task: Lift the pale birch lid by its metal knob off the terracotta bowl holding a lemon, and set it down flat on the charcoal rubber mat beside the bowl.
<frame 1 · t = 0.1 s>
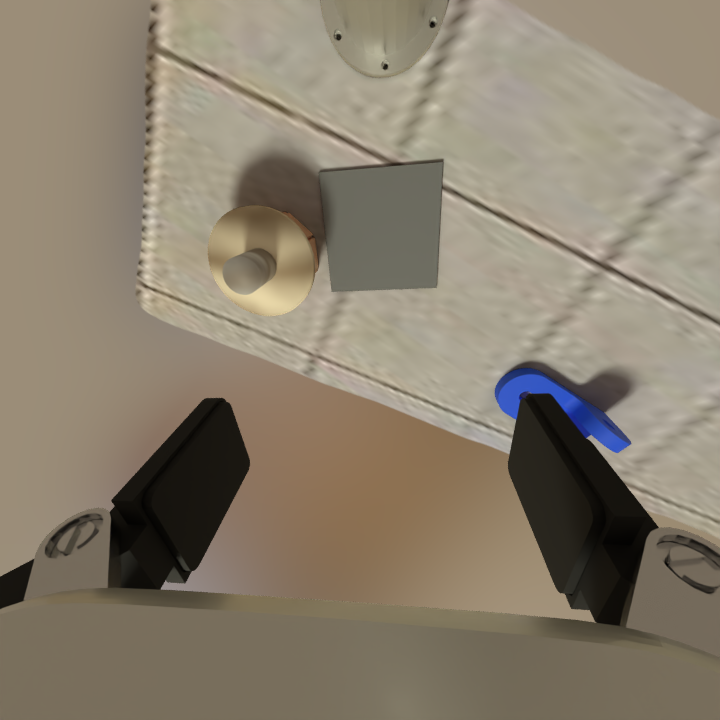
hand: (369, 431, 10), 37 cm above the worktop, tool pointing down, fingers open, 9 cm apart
mat: (381, 233, 41), on the worktop
bracket: (542, 402, 52), on the worktop
lid: (264, 263, 39), point 6 cm above the worktop, touching bowl
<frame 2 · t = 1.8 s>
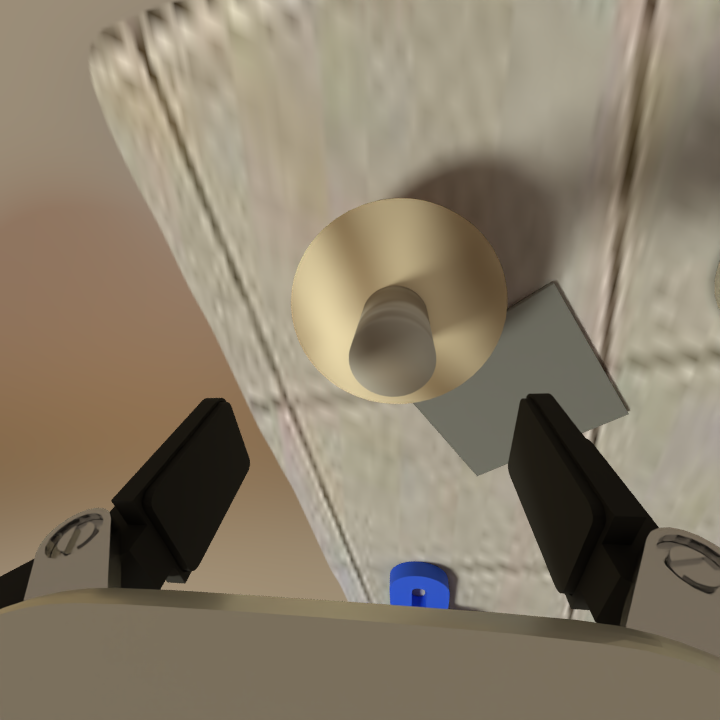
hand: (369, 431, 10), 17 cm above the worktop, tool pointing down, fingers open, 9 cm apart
mat: (507, 394, 29), on the worktop
bracket: (418, 592, 48), on the worktop
lid: (394, 311, 20), point 6 cm above the worktop, touching bowl
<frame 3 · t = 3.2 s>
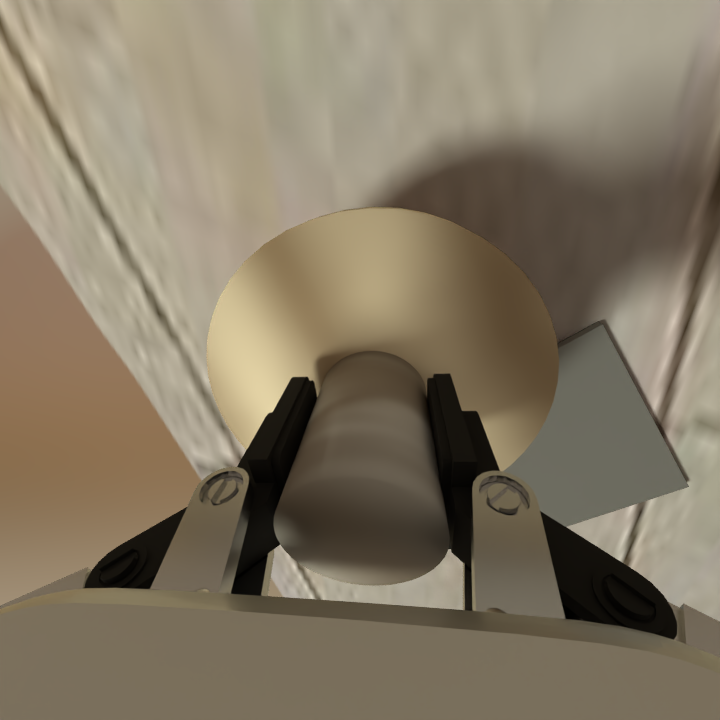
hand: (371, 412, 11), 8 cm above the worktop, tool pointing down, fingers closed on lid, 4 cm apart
mat: (529, 460, 22), on the worktop
lid: (375, 380, 13), point 6 cm above the worktop, touching bowl, gripper
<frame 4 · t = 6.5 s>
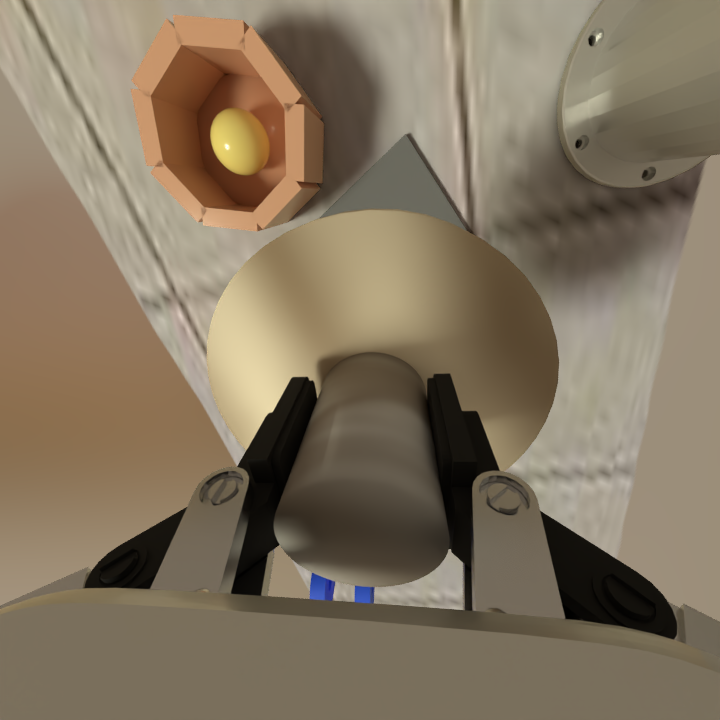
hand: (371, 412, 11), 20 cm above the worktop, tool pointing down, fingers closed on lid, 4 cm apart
bowl: (257, 148, 25), on the worktop
mat: (387, 274, 29), on the worktop
bracket: (345, 523, 48), on the worktop
lid: (375, 381, 13), point 18 cm above the worktop, touching gripper
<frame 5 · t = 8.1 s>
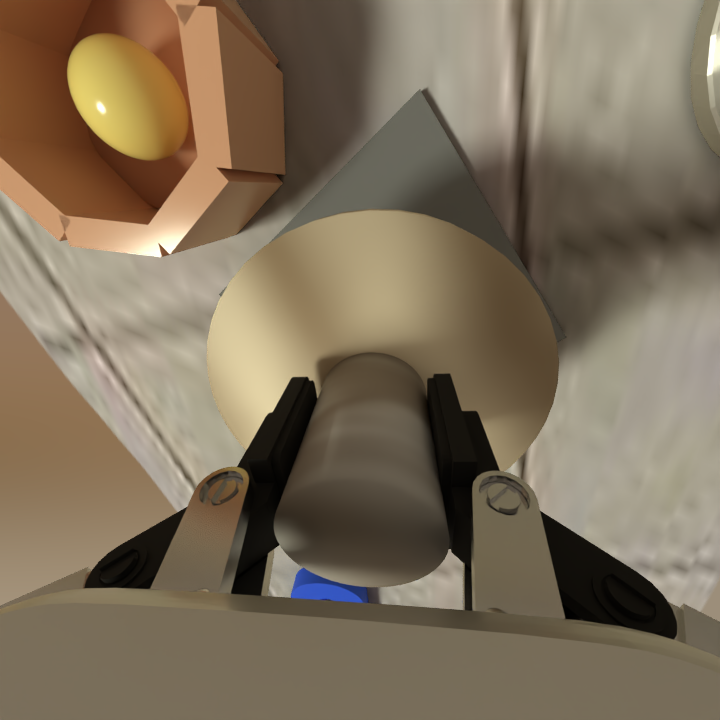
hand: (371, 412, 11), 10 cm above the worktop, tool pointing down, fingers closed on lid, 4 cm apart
bowl: (178, 117, 15), on the worktop
mat: (387, 312, 19), on the worktop
bracket: (336, 601, 39), on the worktop
lid: (375, 381, 13), point 7 cm above the worktop, touching gripper
when the fingers open (4 cm above the worktop, at t = 9.6 s): lid drops 1 cm, resting on mat.
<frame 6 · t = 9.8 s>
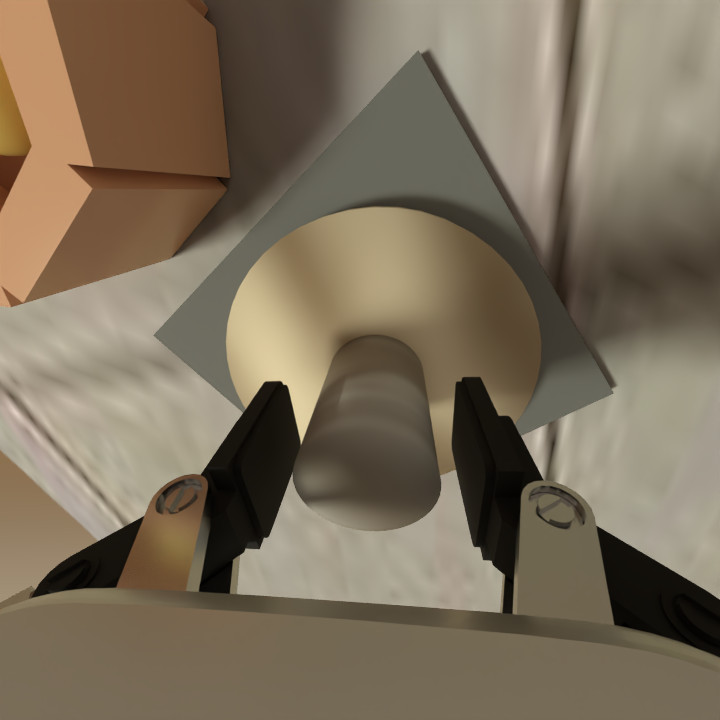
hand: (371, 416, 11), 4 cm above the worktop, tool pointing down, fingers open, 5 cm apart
bowl: (72, 95, 11), on the worktop
mat: (377, 359, 15), on the worktop
lid: (377, 363, 14), resting on mat
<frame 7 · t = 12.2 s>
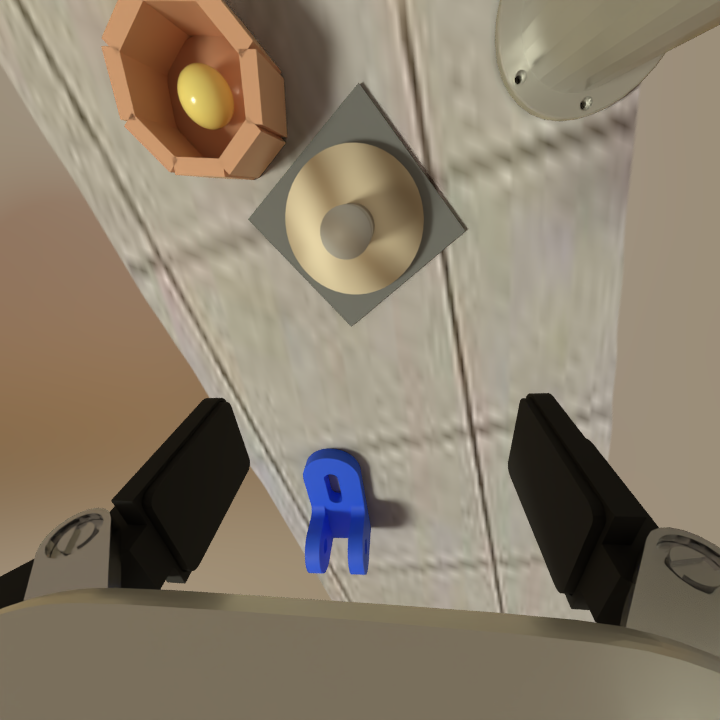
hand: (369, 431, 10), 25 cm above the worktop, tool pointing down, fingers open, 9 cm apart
bowl: (224, 107, 27), on the worktop
mat: (354, 224, 30), on the worktop
bracket: (338, 489, 49), on the worktop
lid: (354, 225, 30), resting on mat
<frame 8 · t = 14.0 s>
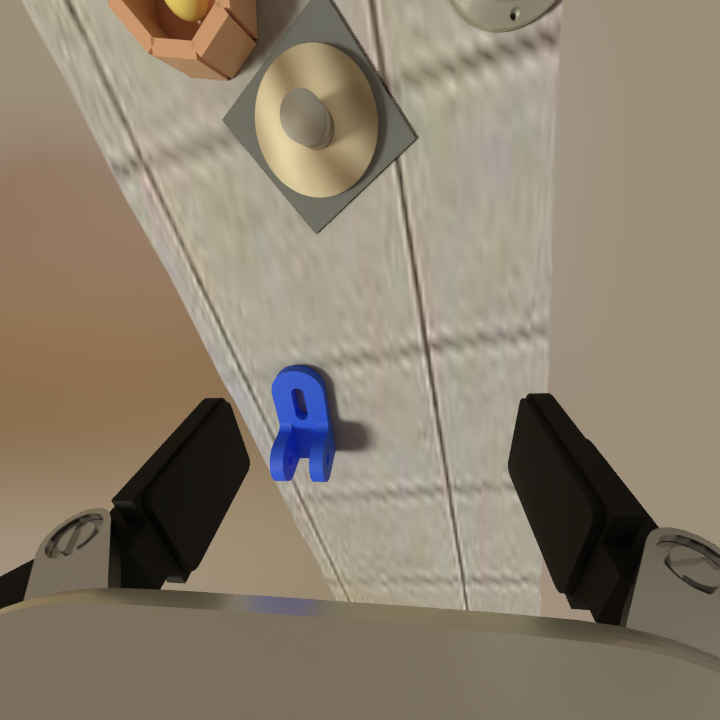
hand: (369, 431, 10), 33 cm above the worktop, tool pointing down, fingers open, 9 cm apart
bowl: (201, 6, 30), on the worktop
mat: (318, 129, 34), on the worktop
bracket: (306, 409, 53), on the worktop
lid: (318, 129, 34), resting on mat
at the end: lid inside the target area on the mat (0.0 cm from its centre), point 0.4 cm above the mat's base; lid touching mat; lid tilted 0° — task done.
